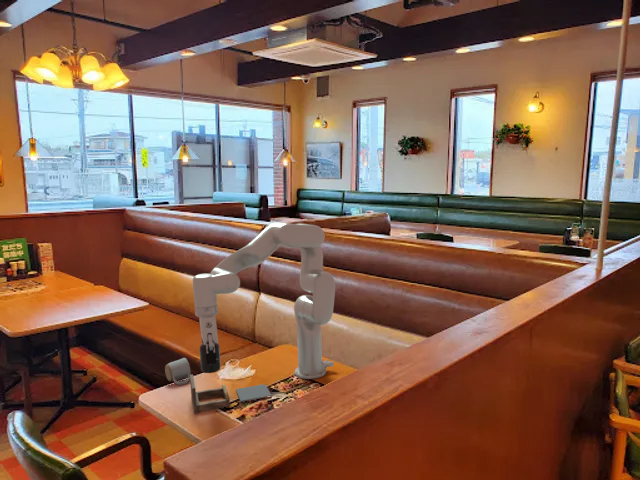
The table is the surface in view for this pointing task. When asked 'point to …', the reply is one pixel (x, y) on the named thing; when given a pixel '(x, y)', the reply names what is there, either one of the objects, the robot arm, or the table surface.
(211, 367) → the supplement bottle
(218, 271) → the robot arm
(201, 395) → the dispenser stand
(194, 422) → the table surface
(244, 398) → the rubber pad
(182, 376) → the ceramic mug
